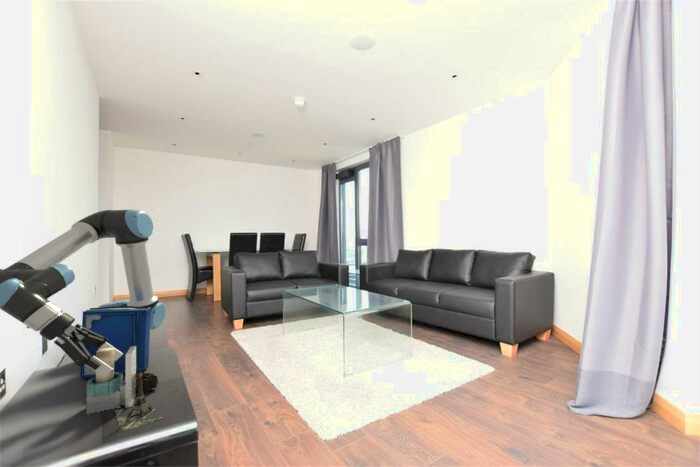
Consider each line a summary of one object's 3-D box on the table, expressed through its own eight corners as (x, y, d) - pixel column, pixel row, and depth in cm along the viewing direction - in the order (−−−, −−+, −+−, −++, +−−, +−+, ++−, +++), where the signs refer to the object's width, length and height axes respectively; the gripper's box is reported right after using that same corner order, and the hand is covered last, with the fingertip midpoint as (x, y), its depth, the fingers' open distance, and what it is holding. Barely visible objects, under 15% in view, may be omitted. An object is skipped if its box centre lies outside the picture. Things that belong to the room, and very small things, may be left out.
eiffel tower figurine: (112, 412, 93) (112, 367, 93) (152, 400, 100) (152, 358, 100) (121, 435, 82) (121, 383, 83) (164, 419, 89) (165, 372, 90)
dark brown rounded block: (91, 402, 99) (91, 384, 99) (101, 392, 105) (101, 375, 105) (155, 392, 104) (155, 375, 104) (161, 384, 111) (161, 368, 111)
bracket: (92, 403, 98) (92, 351, 98) (135, 395, 103) (136, 345, 103) (83, 416, 90) (84, 360, 90) (131, 407, 95) (131, 354, 95)
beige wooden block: (97, 388, 97) (98, 349, 97) (115, 385, 99) (115, 347, 99) (93, 394, 93) (94, 353, 93) (112, 391, 95) (112, 351, 95)
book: (152, 365, 127) (153, 303, 127) (147, 372, 120) (147, 307, 120) (87, 373, 120) (88, 307, 120) (78, 381, 113) (79, 311, 114)
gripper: (56, 322, 101) (113, 360, 107) (16, 345, 78) (91, 392, 85) (77, 303, 103) (132, 342, 109) (44, 321, 81) (115, 369, 87)
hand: (114, 364), depth 97 cm, fingers open, 13 cm apart
